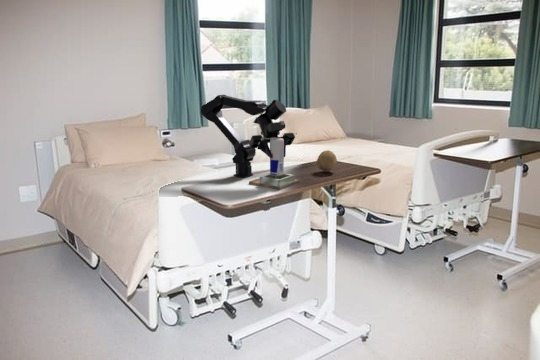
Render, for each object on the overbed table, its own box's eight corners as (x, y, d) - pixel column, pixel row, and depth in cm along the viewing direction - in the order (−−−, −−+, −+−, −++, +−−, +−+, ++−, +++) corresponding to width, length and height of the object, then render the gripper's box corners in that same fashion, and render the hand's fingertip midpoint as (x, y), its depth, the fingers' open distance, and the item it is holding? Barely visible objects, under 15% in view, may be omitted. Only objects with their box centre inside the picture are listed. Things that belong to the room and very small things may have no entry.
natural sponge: (340, 173, 218) (341, 151, 216) (324, 175, 215) (324, 153, 212) (330, 169, 226) (330, 148, 224) (313, 171, 223) (313, 149, 220)
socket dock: (248, 183, 202) (248, 175, 201) (268, 177, 213) (268, 168, 212) (280, 189, 193) (280, 180, 192) (299, 182, 204) (299, 173, 203)
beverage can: (280, 172, 202) (280, 137, 198) (285, 175, 197) (286, 139, 193) (267, 173, 200) (267, 138, 196) (273, 177, 195) (273, 140, 191)
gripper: (251, 115, 192) (262, 147, 185) (293, 113, 200) (305, 143, 193) (244, 132, 201) (254, 163, 194) (284, 129, 209) (296, 159, 202)
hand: (278, 157), depth 196 cm, fingers closed on beverage can, 5 cm apart
